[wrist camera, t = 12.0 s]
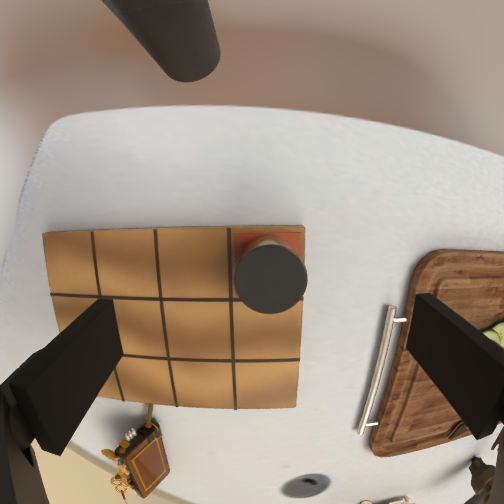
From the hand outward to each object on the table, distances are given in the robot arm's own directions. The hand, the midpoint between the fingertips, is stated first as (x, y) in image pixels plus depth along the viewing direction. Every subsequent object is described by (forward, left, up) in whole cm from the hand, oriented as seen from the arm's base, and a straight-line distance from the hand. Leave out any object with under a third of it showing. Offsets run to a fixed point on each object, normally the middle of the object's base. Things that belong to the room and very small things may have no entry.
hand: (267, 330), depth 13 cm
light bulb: (+38, +38, -14) cm, 55 cm away
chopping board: (+14, +34, -14) cm, 39 cm away
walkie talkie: (+21, -13, -15) cm, 29 cm away
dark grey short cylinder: (+1, +1, -13) cm, 13 cm away
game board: (+7, -8, -14) cm, 18 cm away
